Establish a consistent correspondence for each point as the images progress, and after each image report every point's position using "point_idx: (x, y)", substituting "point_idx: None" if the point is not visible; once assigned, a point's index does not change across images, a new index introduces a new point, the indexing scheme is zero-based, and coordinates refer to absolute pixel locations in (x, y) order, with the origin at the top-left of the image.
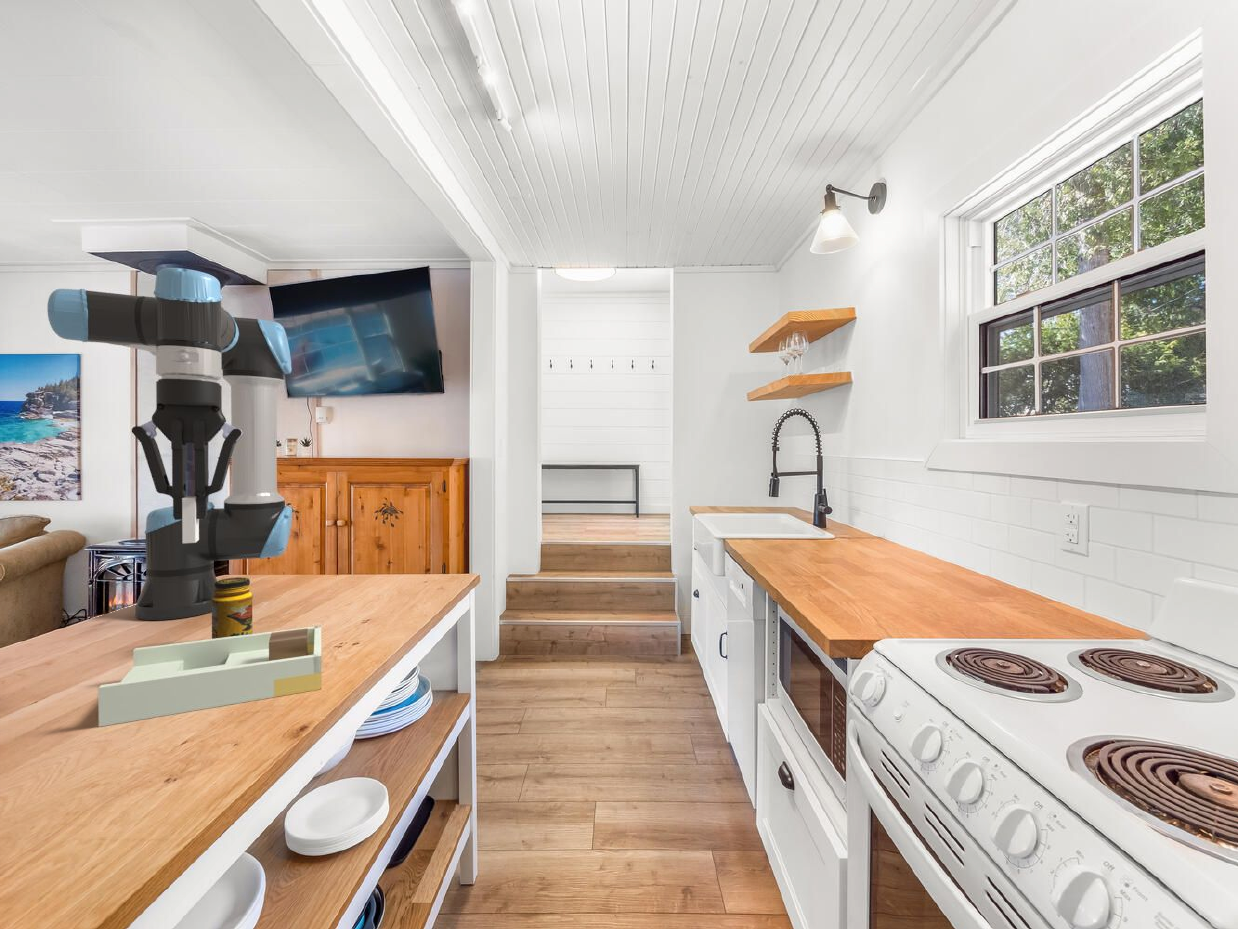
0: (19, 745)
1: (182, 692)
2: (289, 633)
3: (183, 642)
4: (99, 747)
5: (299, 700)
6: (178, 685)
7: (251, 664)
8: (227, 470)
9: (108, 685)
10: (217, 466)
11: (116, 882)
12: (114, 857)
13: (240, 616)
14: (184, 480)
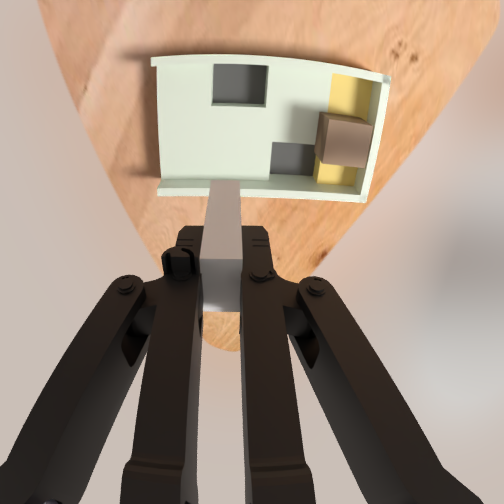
0: (119, 190)
1: None
2: (349, 137)
3: (209, 54)
4: (181, 220)
5: (330, 201)
6: None
7: (298, 194)
8: (372, 350)
9: (164, 192)
10: (327, 409)
11: (237, 342)
12: (231, 331)
13: None
14: (198, 341)
